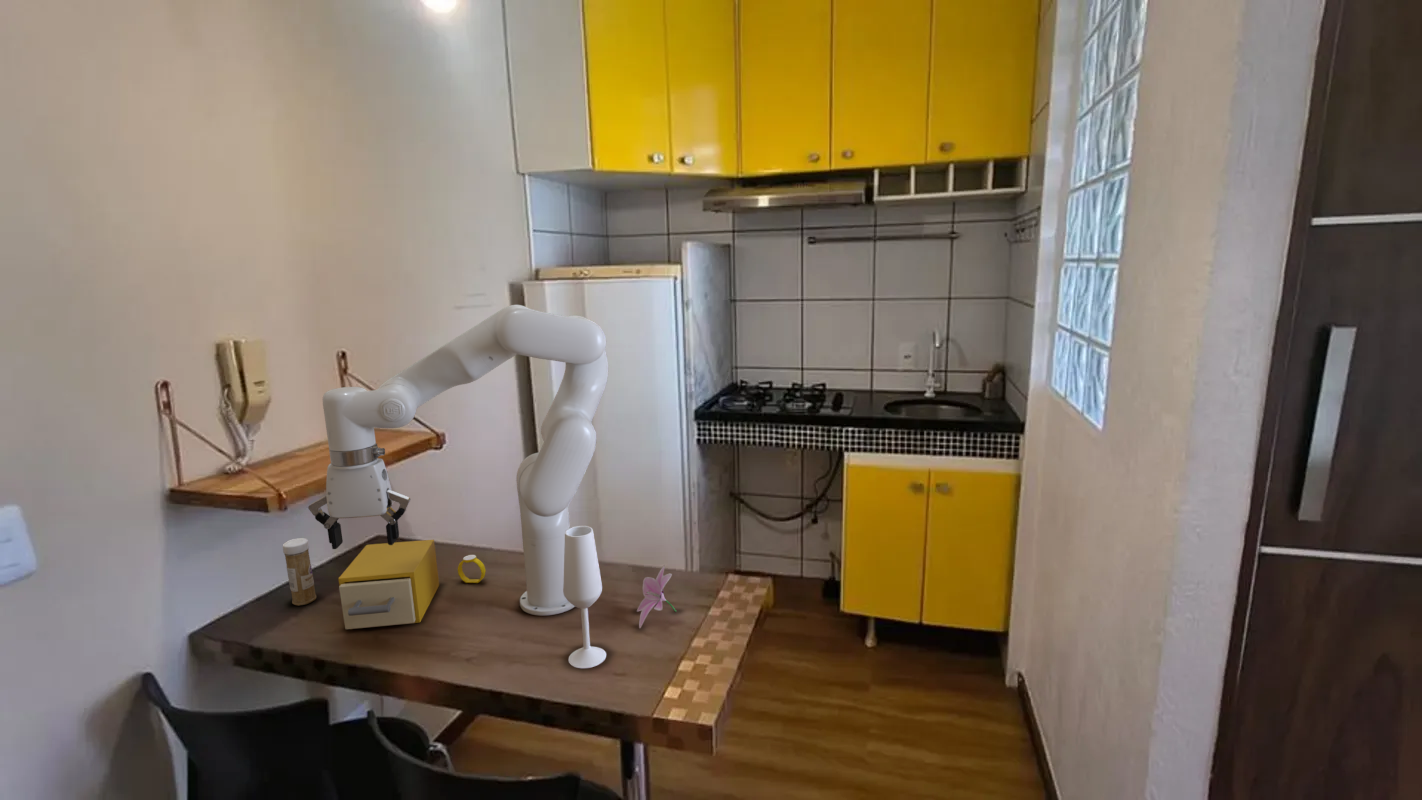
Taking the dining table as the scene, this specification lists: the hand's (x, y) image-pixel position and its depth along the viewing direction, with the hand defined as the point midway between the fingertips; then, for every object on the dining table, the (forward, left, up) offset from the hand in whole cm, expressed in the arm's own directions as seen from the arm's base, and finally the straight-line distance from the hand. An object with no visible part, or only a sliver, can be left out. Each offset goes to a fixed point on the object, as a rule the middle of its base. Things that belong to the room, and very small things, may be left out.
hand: (365, 544), depth 125 cm
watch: (-14, -19, -19) cm, 30 cm away
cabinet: (0, -11, -19) cm, 22 cm away
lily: (-53, +3, -19) cm, 56 cm away
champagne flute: (-40, +15, -19) cm, 47 cm away
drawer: (0, -6, -18) cm, 19 cm away
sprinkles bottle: (+20, -17, -19) cm, 32 cm away
